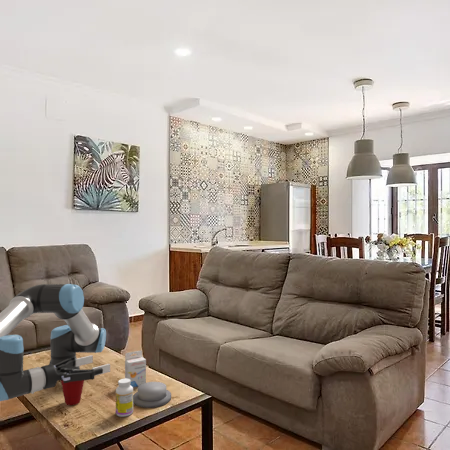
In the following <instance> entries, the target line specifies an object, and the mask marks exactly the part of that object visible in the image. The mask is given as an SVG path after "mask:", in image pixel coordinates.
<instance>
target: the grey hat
mask: <svg viewBox="0 0 450 450" xmlns="http://www.w3.org/2000/svg"><path fill="white" fill-rule="evenodd" d="M171 400H172V393H171V391H170V390H168V389H167V384H165V383H164V382H161V381H149V382H148V381H146V383H144V384H141V385H140V386H137V391H136V392H135V393H133V405H135V406H136V407H139V408H144V409H145V408H147V409H153V408H160V407H162V406H165V405H167V404H168V403H170V401H171Z"/></svg>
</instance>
